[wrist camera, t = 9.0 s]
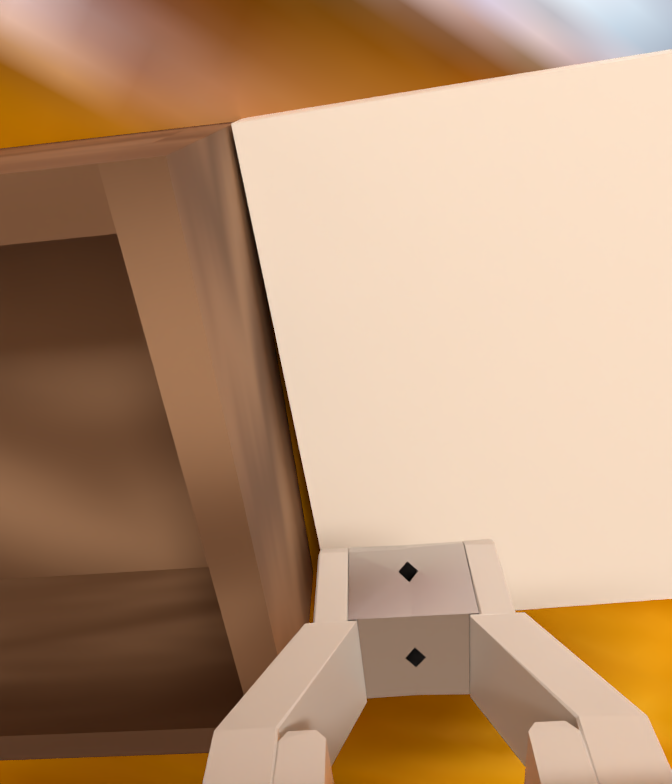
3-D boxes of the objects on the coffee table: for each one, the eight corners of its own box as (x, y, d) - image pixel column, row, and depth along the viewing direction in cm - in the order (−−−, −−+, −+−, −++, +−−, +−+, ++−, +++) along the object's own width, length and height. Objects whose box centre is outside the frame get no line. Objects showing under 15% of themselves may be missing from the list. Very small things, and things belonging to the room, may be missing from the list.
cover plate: (246, 116, 14) (231, 123, 13) (932, 6, 13) (1023, -4, 11) (337, 577, 21) (335, 623, 20) (789, 540, 20) (831, 586, 18)
